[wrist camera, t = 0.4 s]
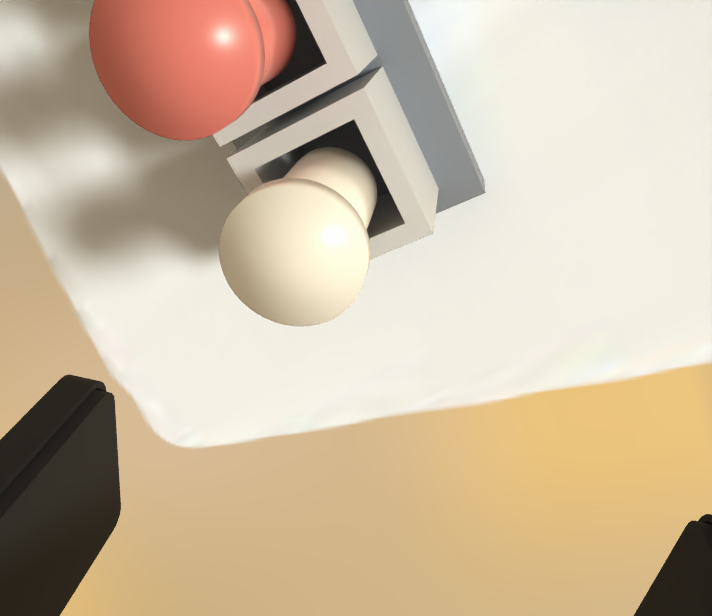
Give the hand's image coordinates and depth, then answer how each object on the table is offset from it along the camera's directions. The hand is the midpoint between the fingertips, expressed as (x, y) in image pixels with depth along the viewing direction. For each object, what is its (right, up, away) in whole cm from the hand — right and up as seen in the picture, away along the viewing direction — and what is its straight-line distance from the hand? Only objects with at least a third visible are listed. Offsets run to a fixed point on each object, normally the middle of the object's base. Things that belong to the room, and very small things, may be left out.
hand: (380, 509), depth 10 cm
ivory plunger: (-2, +9, +20) cm, 22 cm away
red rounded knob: (-5, +15, +17) cm, 24 cm away
